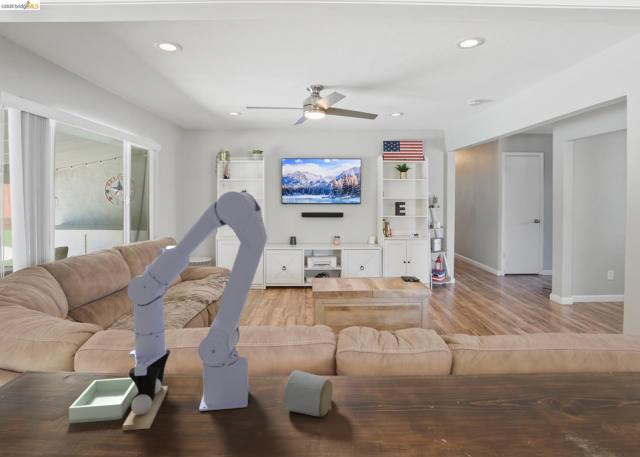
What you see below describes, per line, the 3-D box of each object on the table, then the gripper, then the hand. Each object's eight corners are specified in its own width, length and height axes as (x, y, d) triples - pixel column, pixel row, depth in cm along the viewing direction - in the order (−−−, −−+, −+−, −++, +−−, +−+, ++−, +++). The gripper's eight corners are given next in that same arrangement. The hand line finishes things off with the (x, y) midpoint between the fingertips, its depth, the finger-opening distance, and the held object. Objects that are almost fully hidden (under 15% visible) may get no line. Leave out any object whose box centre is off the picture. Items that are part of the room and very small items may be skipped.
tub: (139, 389, 84) (139, 376, 84) (121, 419, 73) (120, 404, 73) (95, 393, 83) (94, 380, 82) (69, 423, 72) (68, 408, 71)
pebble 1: (154, 407, 75) (153, 390, 75) (149, 417, 72) (148, 399, 71) (135, 409, 75) (134, 391, 74) (128, 419, 71) (128, 401, 71)
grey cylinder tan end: (322, 425, 71) (323, 386, 70) (282, 417, 73) (282, 379, 73) (338, 398, 81) (338, 363, 80) (302, 392, 83) (302, 358, 83)
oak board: (167, 390, 84) (167, 385, 84) (149, 428, 70) (149, 423, 70) (145, 391, 83) (145, 387, 83) (123, 430, 69) (122, 425, 69)
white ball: (163, 389, 82) (162, 373, 82) (158, 398, 78) (158, 381, 78) (145, 391, 81) (145, 375, 81) (140, 400, 78) (139, 383, 78)
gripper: (140, 320, 85) (142, 378, 86) (116, 344, 71) (119, 413, 72) (173, 318, 86) (174, 375, 88) (155, 342, 72) (158, 410, 73)
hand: (152, 393), depth 80 cm, fingers open, 6 cm apart
